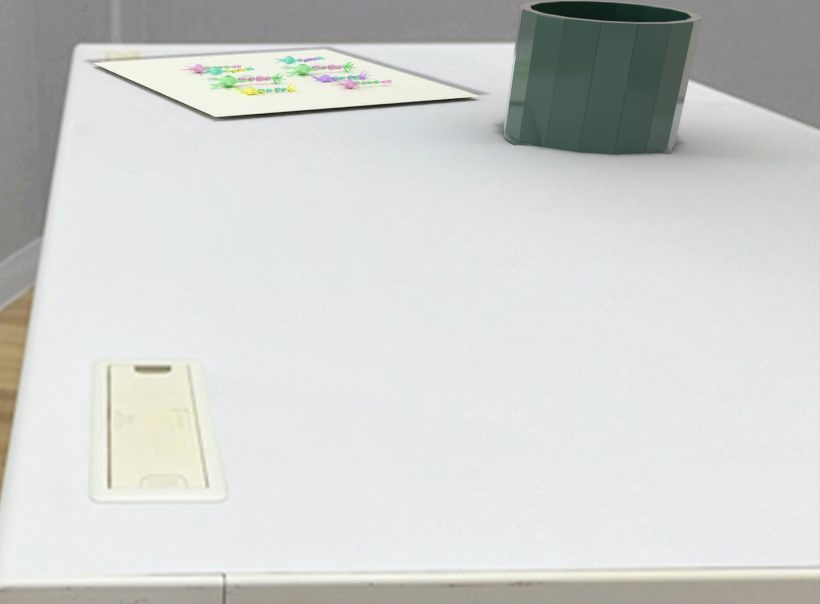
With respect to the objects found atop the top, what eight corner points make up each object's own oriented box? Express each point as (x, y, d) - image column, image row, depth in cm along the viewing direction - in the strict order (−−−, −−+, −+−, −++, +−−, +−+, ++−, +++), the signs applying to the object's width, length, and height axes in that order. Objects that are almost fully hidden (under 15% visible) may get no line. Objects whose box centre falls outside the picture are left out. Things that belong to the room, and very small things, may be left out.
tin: (659, 128, 112) (684, 4, 106) (684, 165, 100) (715, 27, 94) (500, 119, 114) (517, -4, 108) (506, 154, 102) (526, 18, 96)
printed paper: (215, 120, 110) (215, 103, 109) (92, 66, 132) (92, 51, 131) (479, 99, 122) (481, 84, 121) (326, 53, 144) (327, 39, 143)
